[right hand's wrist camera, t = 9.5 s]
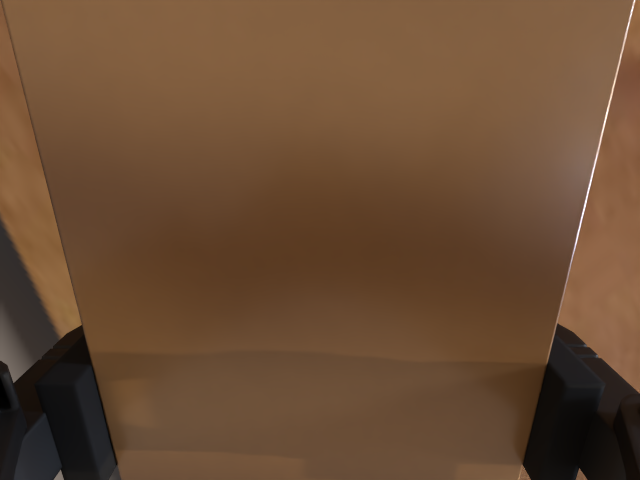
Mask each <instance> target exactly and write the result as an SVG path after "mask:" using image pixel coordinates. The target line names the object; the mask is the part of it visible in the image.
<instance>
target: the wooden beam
mask: <svg viewBox="0 0 640 480" xmlns="http://www.w3.org/2000/svg"><path fill="white" fill-rule="evenodd" d="M1 3H2V7H3V11H4V15H5V19H6V23H7V27H8V31H9V35H10V39H11V43H12V47H13V51H14V55H15V59H16V63H17V67H18V71H19V75H20V79H21V83H22V87H23V91H24V95H25V99H26V103H27V107H28V111H29V115H30V119H31V123H32V127H33V131H34V135H35V139H36V143H37V147H38V151H39V155H40V159H41V163H42V167H43V171H44V175H45V178H46V182H47V186H48V190H49V194H50V198H51V202H52V206H53V210H54V214H55V218H56V222H57V226H58V230H59V234H60V238H61V242H62V246H63V250H64V254H65V258H66V262H67V266H68V270H69V274H70V278H71V282H72V286H73V290H74V294H75V298H76V302H77V306H78V310H79V314H80V318H81V322H82V326H83V330H84V334H85V338H86V342H87V346H88V350H89V354H90V358H91V362H92V366H93V370H94V374H95V378H96V382H97V386H98V390H99V394H100V398H101V402H102V406H103V410H104V414H105V418H106V422H107V426H108V430H109V434H110V438H111V442H112V446H113V450H114V454H115V458H116V462H117V466H118V470H119V474H120V478H121V480H519V478H520V474H521V470H522V466H523V462H524V458H525V454H526V449H527V445H528V441H529V437H530V433H531V429H532V425H533V421H534V416H535V412H536V408H537V404H538V400H539V396H540V392H541V388H542V384H543V379H544V375H545V371H546V367H547V363H548V359H549V355H550V351H551V346H552V342H553V338H554V334H555V330H556V326H557V322H558V318H559V313H560V309H561V305H562V301H563V297H564V293H565V289H566V285H567V280H568V276H569V272H570V268H571V264H572V260H573V256H574V252H575V248H576V243H577V239H578V235H579V231H580V227H581V223H582V219H583V215H584V210H585V206H586V202H587V198H588V194H589V190H590V186H591V182H592V177H593V173H594V169H595V165H596V161H597V157H598V153H599V149H600V144H601V140H602V136H603V132H604V128H605V124H606V120H607V116H608V111H609V107H610V103H611V99H612V95H613V91H614V87H615V83H616V79H617V74H618V70H619V66H620V62H621V58H622V54H623V50H624V46H625V41H626V37H627V33H628V29H629V25H630V21H631V17H632V13H633V8H634V4H635V0H1Z"/></svg>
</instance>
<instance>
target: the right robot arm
mask: <svg viewBox="0 0 640 480" xmlns="http://www.w3.org/2000/svg"><path fill="white" fill-rule="evenodd" d="M116 465H117V462H116V458H115V454H114V450H113V446H112V442H111V438H110V434H109V430H108V426H107V422H106V418H105V414H104V410H103V406H102V402H101V398H100V394H99V390H98V386H97V382H96V378H95V374H94V370H93V366H92V362H91V358H90V354H89V350H88V346H87V342H86V338H85V334H84V330H83V326H82V325H81V326H79V327H78V328H76V329H74V330H72V331H71V332H69V333H67V334H66V335H65V336H64V337H63V338H62V339H61V340H59V341H58V342H57V343H56V344H55V345H54V346H53V349H50V350H49V351H48V352H47V353H46V354H44V355H43V356H42V359H41V360H38V361H37V362H36V363H35V364H34V365H33V366H32V367H31V368H30V369H28V370H27V371H26V372H25V373H24V374H23V375H22V376H21V377H20V378H19V379H18V380H17V381H16V382H14V383H13V381H12V378H11V375H10V372H9V369H8V366H7V365H6V364H5V363H3V362H2V361H0V480H54V478H55V477H56V475H57V474H58V472H59V471H60V470H61V471H62V475H63V478H64V480H109V478H110V476H111V474H112V473H113V471H114V469H115V467H116ZM523 466H524V468H525V470H526V471H527V473H528V475H529V477H530V479H531V480H576V477H577V473H578V470H579V468H580V469H581V471H582V472H583V474H584V475H585V477H586V478H587V479H588V480H640V393H638V392H637V391H636V390H635V389H634V388H633V387H632V386H631V385H629V384H628V383H627V382H626V381H625V380H624V379H623V378H622V377H621V376H620V375H619V374H618V373H617V372H615V371H614V370H613V369H612V368H611V367H610V366H609V365H608V364H607V363H606V362H605V361H604V360H603V359H601V358H598V355H597V354H596V353H595V352H594V351H593V350H592V349H591V348H590V347H587V345H586V344H585V343H584V342H583V341H582V340H581V339H580V338H579V337H578V336H577V335H576V334H574V333H573V332H572V331H570V330H568V329H566V328H565V327H563V326H561V325H559V324H558V323H557V326H556V330H555V334H554V338H553V342H552V346H551V351H550V355H549V359H548V363H547V367H546V371H545V375H544V379H543V384H542V388H541V392H540V396H539V400H538V404H537V408H536V412H535V416H534V421H533V425H532V429H531V433H530V437H529V441H528V445H527V449H526V454H525V458H524V462H523Z"/></svg>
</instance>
